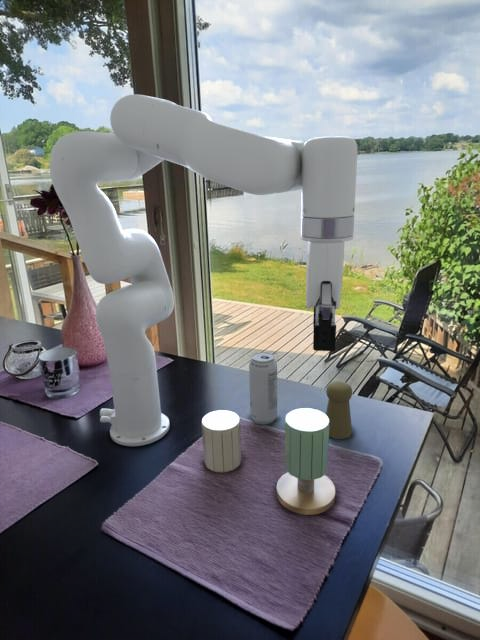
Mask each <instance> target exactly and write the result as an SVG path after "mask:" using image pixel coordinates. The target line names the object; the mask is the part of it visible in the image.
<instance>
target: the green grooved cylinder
mask: <svg viewBox="0 0 480 640" xmlns="http://www.w3.org/2000/svg"><path fill="white" fill-rule="evenodd" d="M284 419H285V422H284V469H285V470H286V471H287V472H288V473H289V474H290V475H292V476H294V477H296V478H298V479H302V480H314V479H318V478H321V477H323V475H326V474H327V473H328V469H329V468H328V467H329V444H330V437H329V418H328V416H327V415H326V412H323V411H321V410H320V409H319V410H318V409H315V408H309V407H302V408H301V407H300V408H296V409H293V410H290V411H289V412H288V413H287V414H286V415H285V418H284Z"/></svg>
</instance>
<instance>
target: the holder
mask: <svg viewBox="0 0 480 640" xmlns="http://www.w3.org/2000/svg"><path fill="white" fill-rule="evenodd" d="M275 490H276V491H275V493H276V497H277V500H278V501H279V503H280V504H281V505H282V506H283V507H284V508H285V509H287V510H288V511H290V512H293V513H295V514H299V515H303V516H305V515H307V516H313V515H318V514H322V513H325V512H327V511H328V510H329V509H331V507H333V505H334V503H335V501H336V492H337V491H336V486H335V484H334V482H333V480H331V478H329V477H328V476H327V475H326V474H324V475H323V477H321V478H318V479H314V480H302V479H298V478H296V477H294V476H292V475H290V474H289V473H288V471H287V472H286V473H284V474H282V475H281V476H280V477H279V478H278V480H277V483H276V487H275Z"/></svg>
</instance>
